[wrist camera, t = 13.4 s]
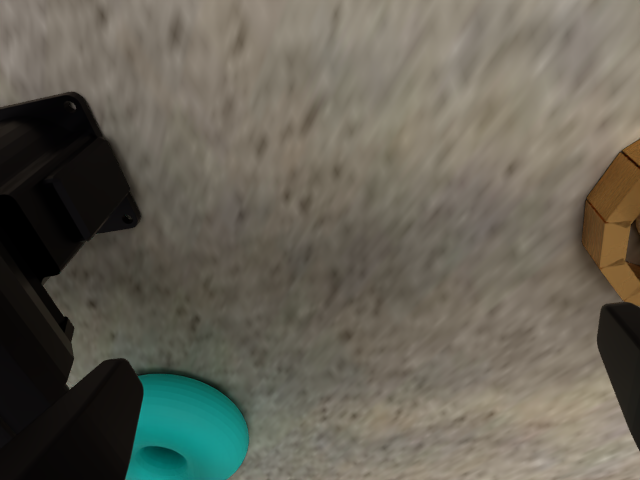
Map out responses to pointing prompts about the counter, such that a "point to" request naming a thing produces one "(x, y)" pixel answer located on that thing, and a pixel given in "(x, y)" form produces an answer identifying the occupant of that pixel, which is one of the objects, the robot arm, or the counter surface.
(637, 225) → the sprinkles bottle
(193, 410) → the donuts
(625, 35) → the counter surface
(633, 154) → the coupling jig
